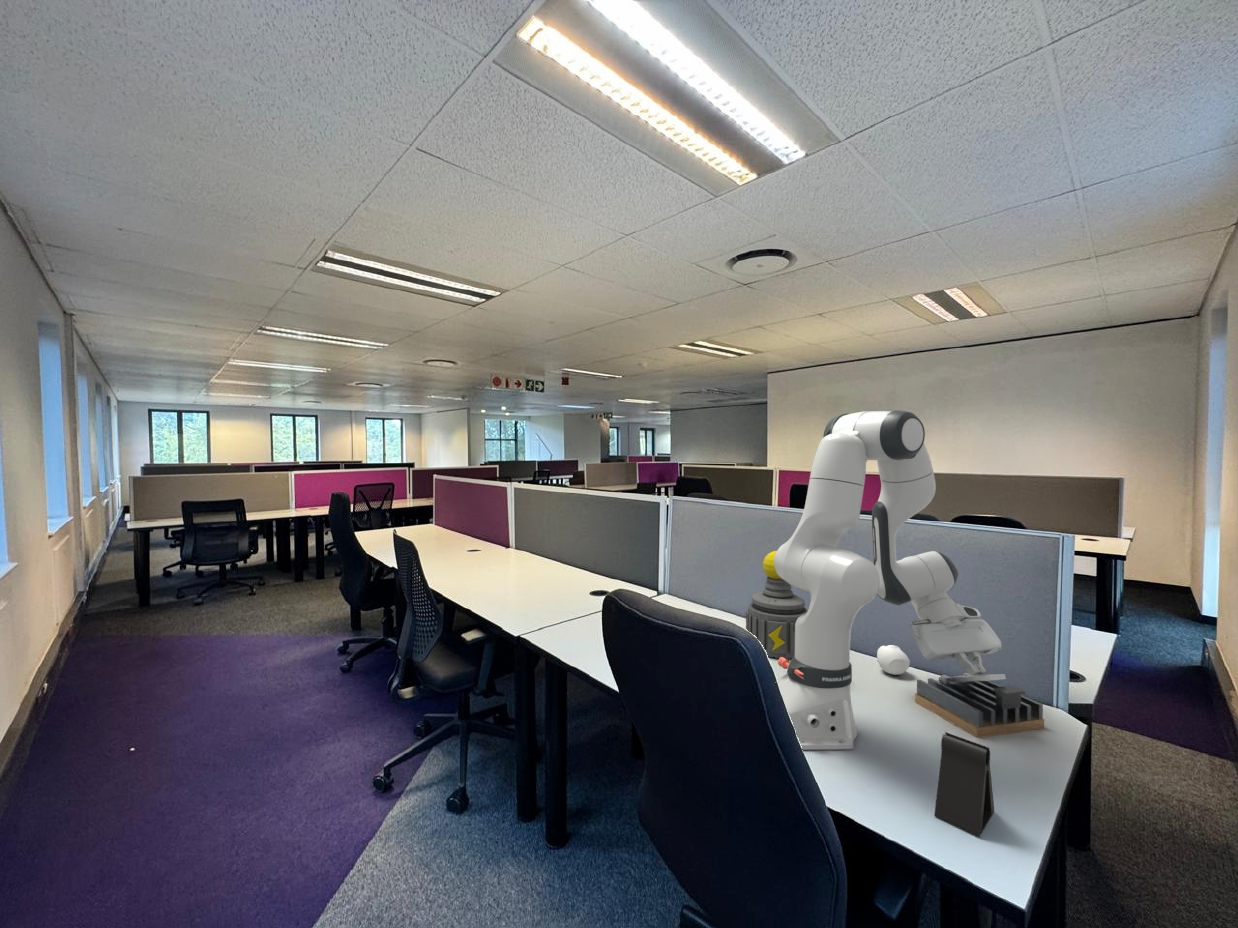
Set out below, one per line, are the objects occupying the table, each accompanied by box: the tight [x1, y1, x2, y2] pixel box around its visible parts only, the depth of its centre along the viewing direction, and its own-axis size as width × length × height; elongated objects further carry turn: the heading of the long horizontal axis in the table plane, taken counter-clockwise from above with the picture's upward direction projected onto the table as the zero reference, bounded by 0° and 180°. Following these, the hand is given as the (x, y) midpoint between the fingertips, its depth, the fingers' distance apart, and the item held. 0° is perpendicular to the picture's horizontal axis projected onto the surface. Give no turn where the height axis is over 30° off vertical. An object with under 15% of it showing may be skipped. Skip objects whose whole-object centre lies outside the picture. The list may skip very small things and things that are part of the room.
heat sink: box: [914, 672, 1045, 738], centre depth 113 cm, size 18×17×9 cm
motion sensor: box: [876, 644, 911, 676], centre depth 136 cm, size 8×8×8 cm
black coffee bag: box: [934, 731, 995, 838], centre depth 81 cm, size 9×6×12 cm, turn 131°
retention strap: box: [951, 673, 1007, 682], centre depth 114 cm, size 5×12×1 cm, turn 13°
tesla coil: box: [745, 550, 808, 660], centre depth 153 cm, size 19×19×30 cm
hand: (979, 673), depth 114 cm, fingers closed, pressing on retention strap
